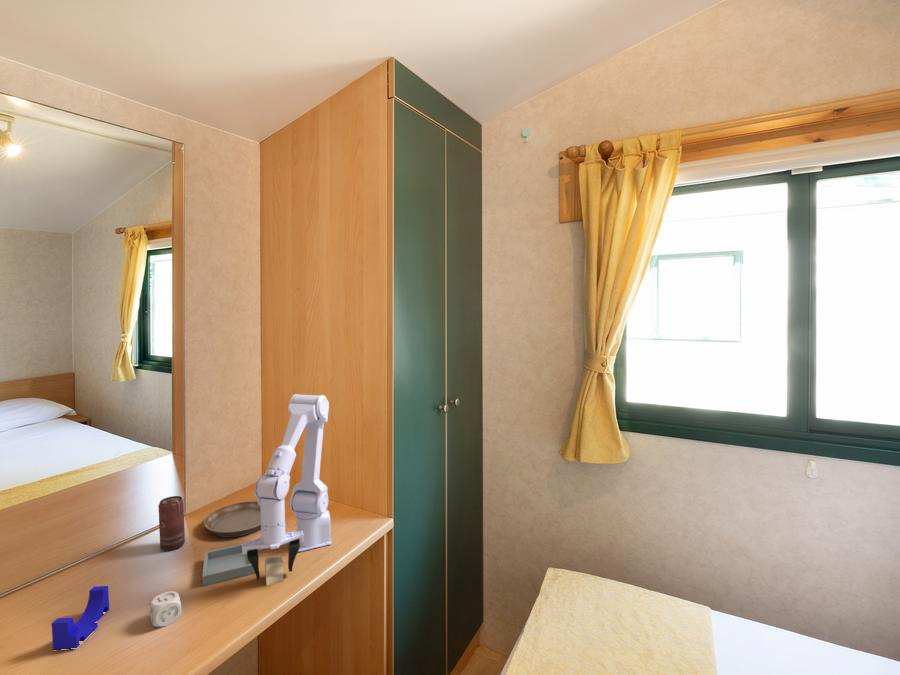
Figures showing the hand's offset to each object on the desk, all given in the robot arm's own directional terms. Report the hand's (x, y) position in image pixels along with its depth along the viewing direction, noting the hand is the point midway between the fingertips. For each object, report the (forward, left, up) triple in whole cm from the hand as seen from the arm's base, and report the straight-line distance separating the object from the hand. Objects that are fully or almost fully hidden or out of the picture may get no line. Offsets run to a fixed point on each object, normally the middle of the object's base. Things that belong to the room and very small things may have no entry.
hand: (274, 573), depth 113 cm
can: (+25, -30, -2) cm, 39 cm away
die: (+23, +5, -2) cm, 24 cm away
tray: (+10, -11, -1) cm, 15 cm away
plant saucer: (+7, -36, -2) cm, 37 cm away
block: (0, 0, -2) cm, 2 cm away
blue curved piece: (+38, +1, -2) cm, 38 cm away
